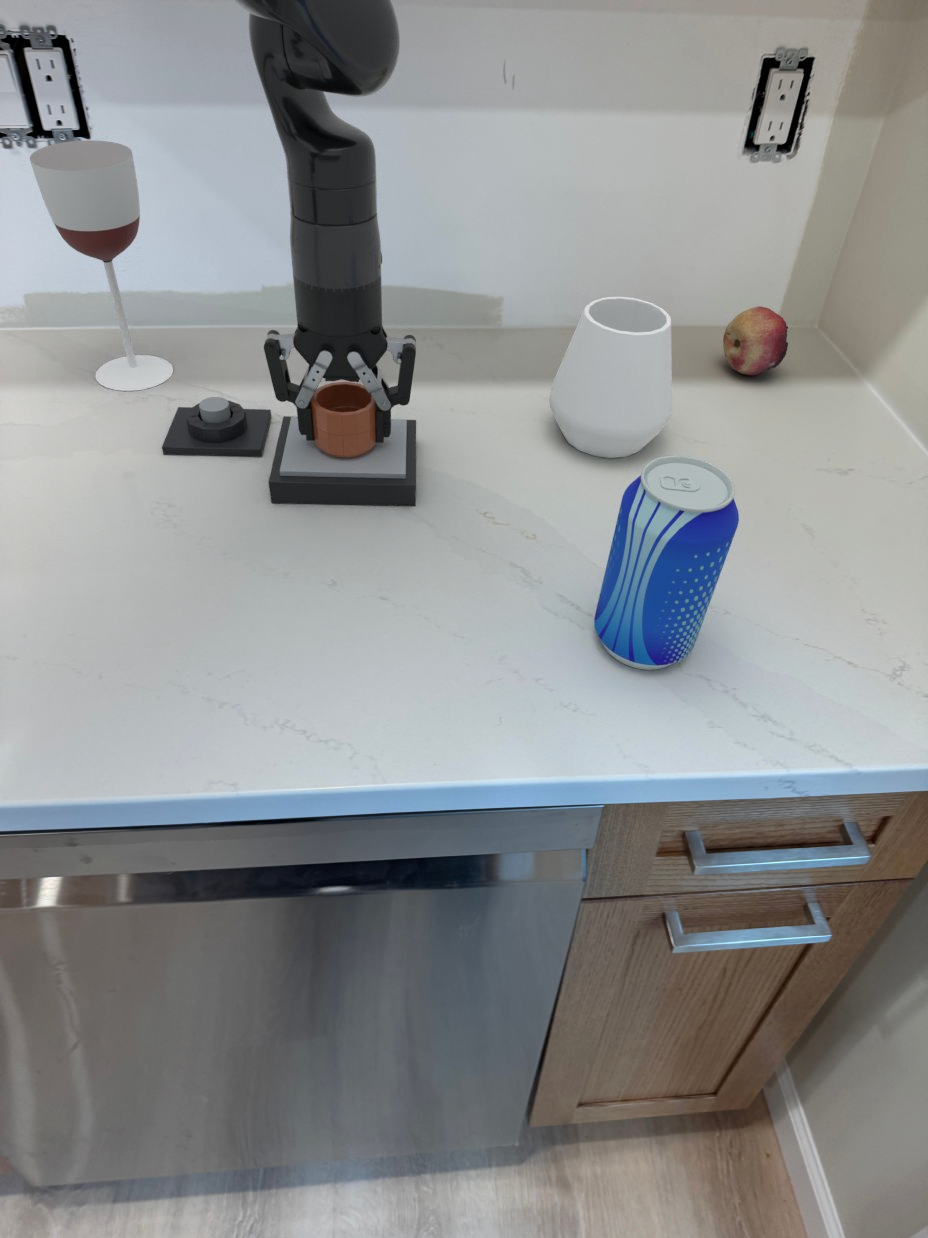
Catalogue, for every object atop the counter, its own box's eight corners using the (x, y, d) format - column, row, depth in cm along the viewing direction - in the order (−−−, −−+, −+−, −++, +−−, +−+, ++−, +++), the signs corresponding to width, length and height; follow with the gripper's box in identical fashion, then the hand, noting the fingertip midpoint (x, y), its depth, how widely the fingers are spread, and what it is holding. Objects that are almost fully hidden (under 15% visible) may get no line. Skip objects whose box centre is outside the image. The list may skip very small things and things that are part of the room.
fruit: (713, 354, 108) (730, 293, 102) (772, 361, 107) (793, 300, 102) (718, 382, 102) (736, 320, 96) (780, 390, 102) (802, 327, 96)
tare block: (163, 454, 84) (158, 433, 83) (179, 413, 90) (175, 393, 88) (261, 456, 85) (258, 435, 83) (271, 416, 91) (269, 396, 89)
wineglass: (76, 387, 93) (9, 164, 77) (117, 348, 100) (63, 136, 84) (153, 398, 92) (101, 174, 76) (189, 357, 99) (148, 145, 83)
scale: (271, 503, 80) (267, 476, 77) (285, 436, 88) (282, 410, 86) (415, 506, 80) (415, 479, 78) (416, 439, 89) (416, 414, 87)
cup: (529, 450, 89) (545, 326, 79) (561, 394, 98) (579, 277, 88) (651, 481, 86) (683, 356, 76) (673, 419, 95) (704, 301, 85)
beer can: (631, 591, 73) (673, 435, 62) (711, 642, 69) (771, 485, 58) (570, 636, 69) (604, 476, 57) (652, 693, 65) (705, 533, 53)
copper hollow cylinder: (311, 459, 80) (307, 413, 76) (317, 425, 84) (314, 380, 81) (376, 461, 80) (375, 415, 76) (378, 426, 84) (377, 382, 81)
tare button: (199, 424, 85) (196, 410, 84) (204, 409, 87) (201, 396, 86) (228, 424, 85) (226, 411, 84) (233, 410, 87) (230, 396, 86)
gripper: (244, 281, 67) (268, 456, 78) (421, 288, 68) (418, 460, 79) (257, 247, 72) (277, 415, 84) (421, 253, 73) (418, 419, 85)
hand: (346, 437), depth 82 cm, fingers closed on copper hollow cylinder, 6 cm apart
